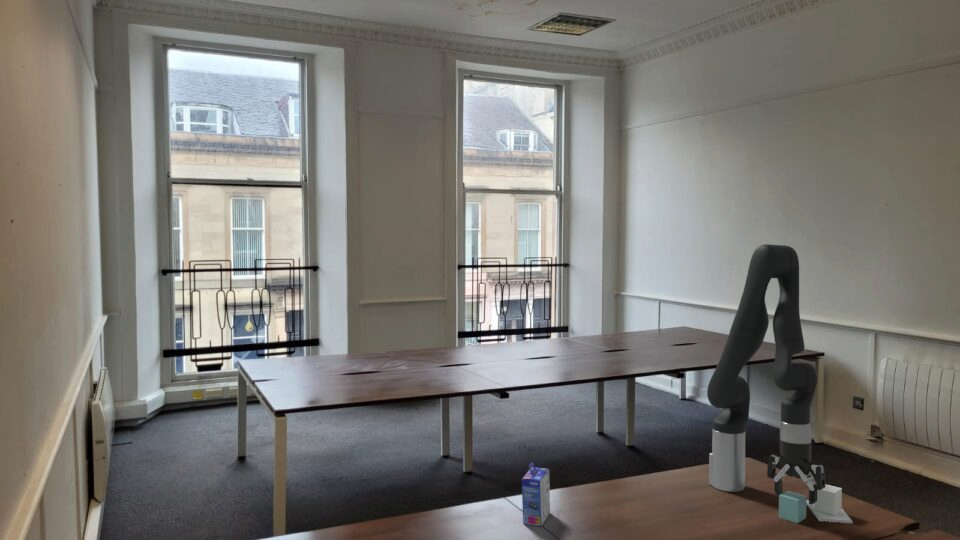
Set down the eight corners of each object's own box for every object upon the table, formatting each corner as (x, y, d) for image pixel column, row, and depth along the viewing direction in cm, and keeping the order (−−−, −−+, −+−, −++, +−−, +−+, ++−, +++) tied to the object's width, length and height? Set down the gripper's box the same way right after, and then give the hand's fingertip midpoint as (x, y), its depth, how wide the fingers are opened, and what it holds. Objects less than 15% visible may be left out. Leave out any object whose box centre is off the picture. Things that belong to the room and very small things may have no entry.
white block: (814, 509, 183) (815, 487, 183) (821, 504, 186) (822, 483, 186) (834, 515, 179) (834, 493, 179) (841, 510, 183) (841, 488, 182)
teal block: (778, 517, 180) (778, 495, 180) (787, 512, 183) (787, 490, 183) (797, 523, 176) (797, 500, 176) (806, 518, 180) (806, 496, 179)
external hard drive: (837, 508, 188) (852, 526, 176) (805, 505, 190) (818, 523, 178) (837, 502, 188) (852, 520, 176) (805, 499, 190) (819, 517, 178)
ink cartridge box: (530, 510, 185) (530, 457, 185) (550, 512, 184) (550, 459, 183) (521, 524, 176) (521, 469, 176) (541, 527, 174) (541, 471, 174)
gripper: (762, 436, 182) (762, 496, 182) (817, 446, 171) (817, 510, 172) (775, 431, 187) (775, 489, 187) (829, 441, 176) (829, 503, 177)
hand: (795, 499), depth 179 cm, fingers open, 8 cm apart
